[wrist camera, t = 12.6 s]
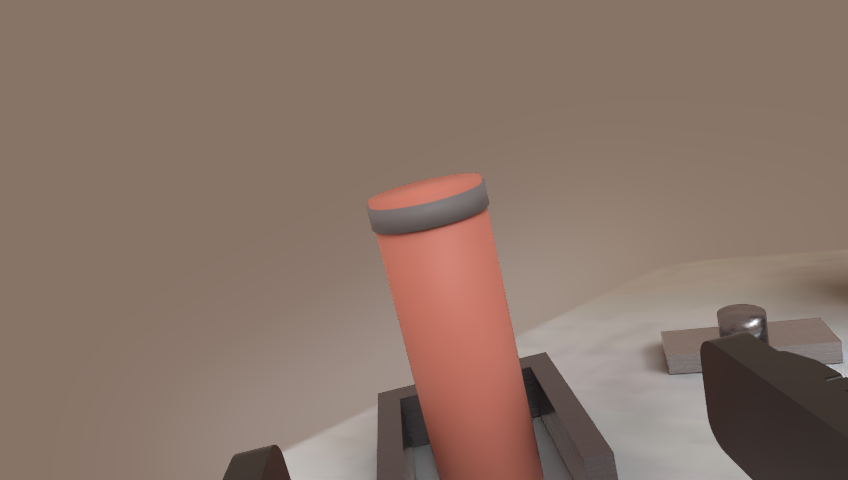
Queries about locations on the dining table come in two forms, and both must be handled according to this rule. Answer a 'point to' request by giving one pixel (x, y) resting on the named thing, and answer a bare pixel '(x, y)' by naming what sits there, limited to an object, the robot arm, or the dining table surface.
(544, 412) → the bracket
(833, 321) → the dining table surface
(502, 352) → the post
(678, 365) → the plate
